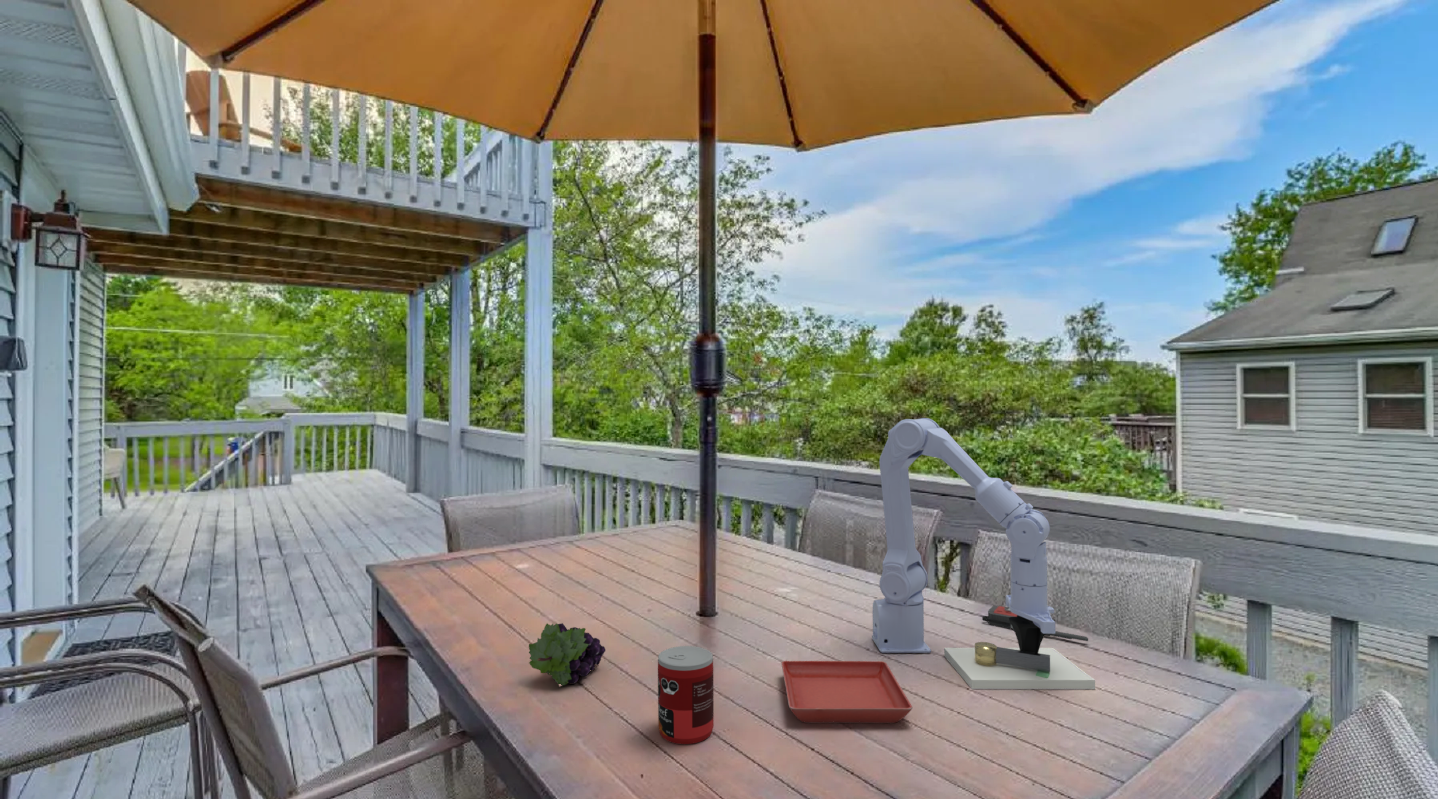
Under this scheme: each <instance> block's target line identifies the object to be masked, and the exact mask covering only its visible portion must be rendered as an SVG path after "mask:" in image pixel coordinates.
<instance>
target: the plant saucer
mask: <svg viewBox="0 0 1438 799" xmlns="http://www.w3.org/2000/svg"><path fill="white" fill-rule="evenodd" d="M780 664H781V670H782V674H783V680H784V681H783V682H784V686H785V691H786V696H787V697H786V698H787V703H788V704H787V705H788V707H789V710H790V711H791V713H793V715H794V716H795V717H796V718H797V720H799V721H800V722H802V723H809V724H810V723H812V724H814V723H816V724H817V723H822V724H824V723H826V724H827V723H829V724H830V723H835V724H836V723H837V724H838V723H840V724H841V723H842V724H843V723H845V724H846V723H848V724H849V723H850V724H852V723H853V724H854V723H857V724H859V723H862V724H863V723H864V724H869V723H870V724H872V723H873V724H896V723H898V722H900V721H901V720H903V718H905V717H906V716H907V715H908V714H909V713H910V712H911V711H912V710H913V705H912V703H911V702H910V700H909V698H908V696H907V695H906V693H905V692H904V690H903V688H902V686H901V685H900V684H899V681H898V680H897V678H896V677H895V675H894V674H893V671H892V670H891V668H890V667H889V665H888V663H887V662H886V661H883V660H880V661H879V660H865V661H864V660H783V661H781V662H780Z"/></svg>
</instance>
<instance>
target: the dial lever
mask: <svg viewBox="0 0 1438 799" xmlns="http://www.w3.org/2000/svg"><path fill="white" fill-rule="evenodd" d="M974 648H975V661H976V662H977V663H980V664H983V665H996V664H997V663H999V664H1005V665H1011V666H1017V667H1023V668H1029V669H1035V670H1041V671H1047V672H1050V655H1047V654H1040V653H1034V652H1027V651H1021V650H1014V649H1008V648H1009V647H1000V646H997V645H996V644H994V643H992V642H988V641H987V642H986V641H978V642H975V643H974Z"/></svg>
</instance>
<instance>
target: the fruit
mask: <svg viewBox="0 0 1438 799" xmlns="http://www.w3.org/2000/svg"><path fill="white" fill-rule="evenodd" d="M586 629H587V628H585V627H582V628H581V627H579V628H578V627H575V626H573V627H570V628H569V629H568V628H567V627H566V625H564V622H561V623H555V624H554V623H552V624H549V623H548V622H547V623H546V624H545V626H544V629H543V630H542V631H541V634H540V638H539V637H537V640H536V642H534V643H529V644H528V650H529V652H528V654H529V655H530V656H529V659H530V660H529V662H528V664H529V665H530V667H531V668H533V669H535V670H538V671H540V674H547V675H549V676H551V678H552V679H553V680H555V681H554V682H555V683H557V685H558V684H561V685H563V686H566V685H567V684H570V683H573V684H577V682H578V681H579V679H580V676H581V677H586V676H588V674H589V673H590V672H591V671H590V670H593V671H594V669H595V667H596V665H597V666H598V665H599V664H600V663H601V660H602V657H603V655H604V654H605V652H606V648H605V646H604V645H602V644H601V640H600V639H599V638H597V637H593V636H592V634H590V633H589V632H586ZM570 685H571V684H570Z"/></svg>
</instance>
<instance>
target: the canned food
mask: <svg viewBox="0 0 1438 799" xmlns="http://www.w3.org/2000/svg"><path fill="white" fill-rule="evenodd" d="M657 656H658V658H657V707H658V708H657V709H658V710H657V712H658V713H657V714H658V715H657V716H658V718H657V719H658V721H657V724H658V732H659V734H660V736H661V737H662V738H663V739H664V740H666V741H667V742H670V743H673V744H676V745H693V744H697V743H700V742H703V741H705V740H707V739H708V738H709V737H710V736H711V735H712V733H713V730H714V726H715V725H714V723H715V722H714V720H715V718H714V717H715V716H714V715H715V714H714V712H715V711H714V702H715V701H714V658H713V656H714V655H713V653H712V652H711V651H710V650H709V649H707V648H704V647H700V646H695V645H694V646H693V645H680V646H674V647H670V648H666V649H664V650H663V651H660V652H659V654H658V655H657Z"/></svg>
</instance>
